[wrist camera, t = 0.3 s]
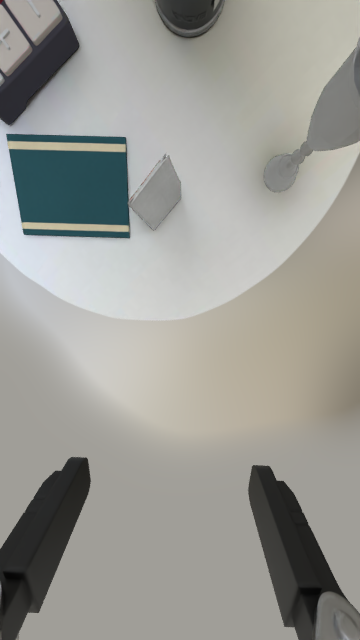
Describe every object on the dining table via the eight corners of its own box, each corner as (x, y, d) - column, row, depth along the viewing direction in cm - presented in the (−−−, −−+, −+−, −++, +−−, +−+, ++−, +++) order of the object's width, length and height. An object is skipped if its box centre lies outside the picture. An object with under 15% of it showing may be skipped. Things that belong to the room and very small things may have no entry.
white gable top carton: (181, 197, 31) (180, 167, 22) (153, 230, 33) (141, 216, 23) (164, 179, 31) (155, 140, 21) (137, 214, 32) (117, 192, 22)
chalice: (264, 206, 31) (362, 135, 14) (250, 161, 30) (343, 18, 13) (309, 185, 31) (473, 80, 13) (297, 137, 29) (468, -53, 12)
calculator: (66, 11, 23) (-20, 102, 25) (82, 51, 27) (8, 126, 29) (-8, -103, 21) (-96, 7, 23) (23, -40, 25) (-53, 48, 27)
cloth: (8, 135, 29) (5, 133, 29) (126, 138, 29) (125, 136, 29) (25, 234, 33) (23, 234, 33) (129, 238, 33) (128, 237, 33)
